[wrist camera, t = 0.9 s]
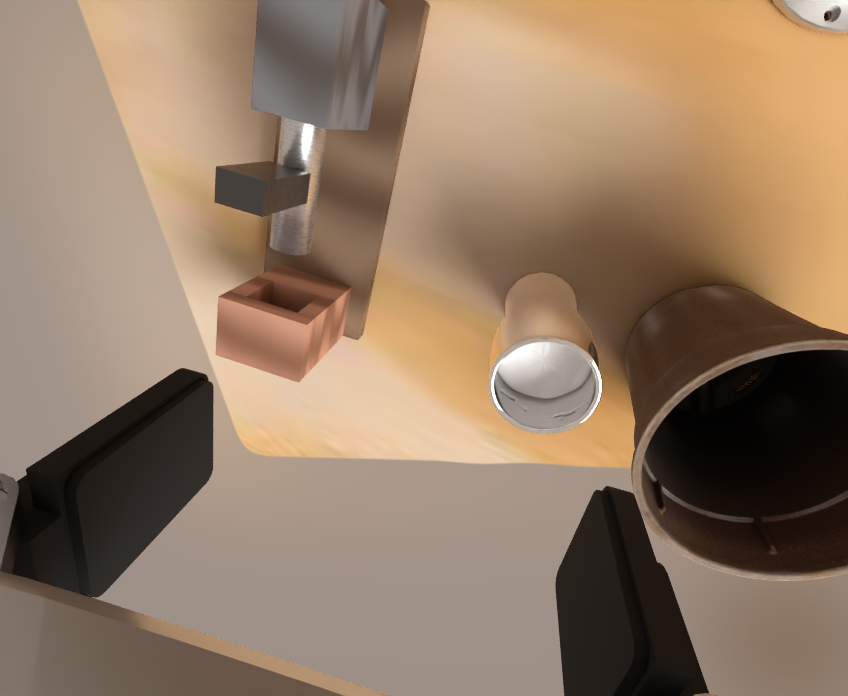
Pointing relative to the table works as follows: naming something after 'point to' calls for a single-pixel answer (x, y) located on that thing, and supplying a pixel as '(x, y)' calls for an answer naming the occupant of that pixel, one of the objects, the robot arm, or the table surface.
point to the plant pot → (741, 434)
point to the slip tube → (280, 186)
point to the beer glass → (544, 358)
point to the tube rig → (327, 171)
